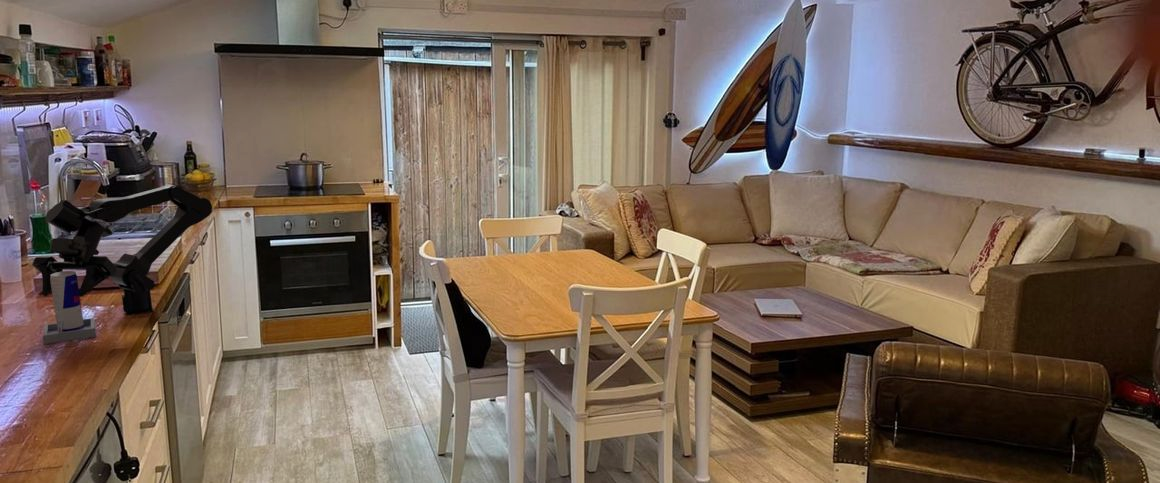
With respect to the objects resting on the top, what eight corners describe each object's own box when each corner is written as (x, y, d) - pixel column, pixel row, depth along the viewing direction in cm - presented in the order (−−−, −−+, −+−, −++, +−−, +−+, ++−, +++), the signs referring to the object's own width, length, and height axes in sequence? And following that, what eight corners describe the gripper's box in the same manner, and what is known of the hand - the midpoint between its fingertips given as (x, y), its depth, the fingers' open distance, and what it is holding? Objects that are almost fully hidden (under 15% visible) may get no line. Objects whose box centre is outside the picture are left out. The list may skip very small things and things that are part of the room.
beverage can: (73, 335, 206) (64, 276, 203) (52, 334, 207) (43, 275, 204) (89, 328, 211) (81, 270, 208) (70, 328, 212) (61, 270, 209)
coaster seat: (95, 325, 216) (94, 317, 215) (95, 336, 207) (94, 328, 206) (45, 332, 211) (44, 324, 210) (44, 344, 201) (42, 335, 201)
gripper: (31, 224, 208) (5, 278, 200) (103, 224, 207) (79, 279, 198) (57, 249, 218) (33, 302, 209) (126, 249, 216) (105, 302, 207)
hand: (62, 295), depth 206 cm, fingers open, 9 cm apart
